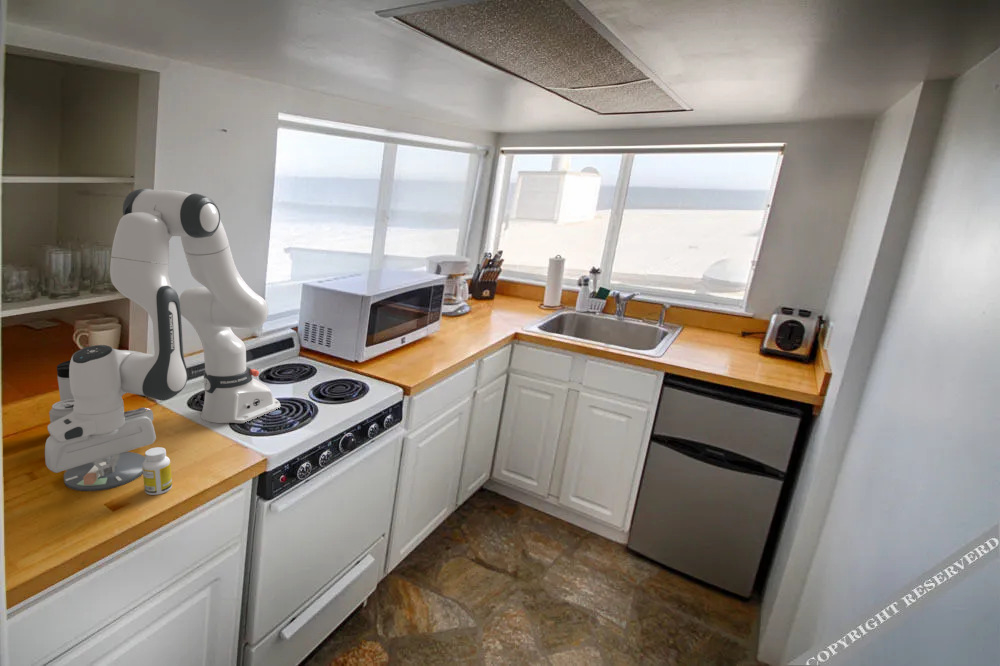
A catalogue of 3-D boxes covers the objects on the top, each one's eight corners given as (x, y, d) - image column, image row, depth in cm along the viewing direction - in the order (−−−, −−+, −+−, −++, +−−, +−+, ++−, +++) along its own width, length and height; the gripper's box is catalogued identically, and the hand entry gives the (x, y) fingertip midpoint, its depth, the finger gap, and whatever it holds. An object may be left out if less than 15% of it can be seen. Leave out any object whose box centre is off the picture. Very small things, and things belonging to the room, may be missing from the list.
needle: (100, 463, 127) (99, 449, 126) (119, 462, 128) (118, 449, 127) (78, 488, 117) (76, 473, 116) (99, 487, 118) (97, 472, 117)
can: (70, 455, 131) (65, 411, 128) (46, 449, 133) (40, 406, 130) (98, 442, 139) (94, 400, 135) (75, 437, 140) (70, 395, 137)
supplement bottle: (171, 480, 126) (169, 443, 123) (172, 492, 121) (169, 454, 119) (144, 485, 123) (141, 448, 120) (144, 497, 118) (140, 459, 116)
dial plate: (131, 449, 137) (130, 444, 137) (159, 472, 128) (158, 467, 128) (53, 472, 124) (53, 467, 124) (79, 499, 116) (78, 494, 115)
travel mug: (99, 430, 144) (92, 361, 139) (71, 438, 139) (62, 367, 134) (89, 423, 148) (81, 356, 142) (60, 431, 142) (51, 361, 137)
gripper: (146, 401, 127) (150, 452, 131) (37, 427, 111) (46, 485, 114) (158, 409, 123) (162, 461, 127) (48, 438, 107) (57, 497, 111)
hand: (106, 473), depth 121 cm, fingers closed
